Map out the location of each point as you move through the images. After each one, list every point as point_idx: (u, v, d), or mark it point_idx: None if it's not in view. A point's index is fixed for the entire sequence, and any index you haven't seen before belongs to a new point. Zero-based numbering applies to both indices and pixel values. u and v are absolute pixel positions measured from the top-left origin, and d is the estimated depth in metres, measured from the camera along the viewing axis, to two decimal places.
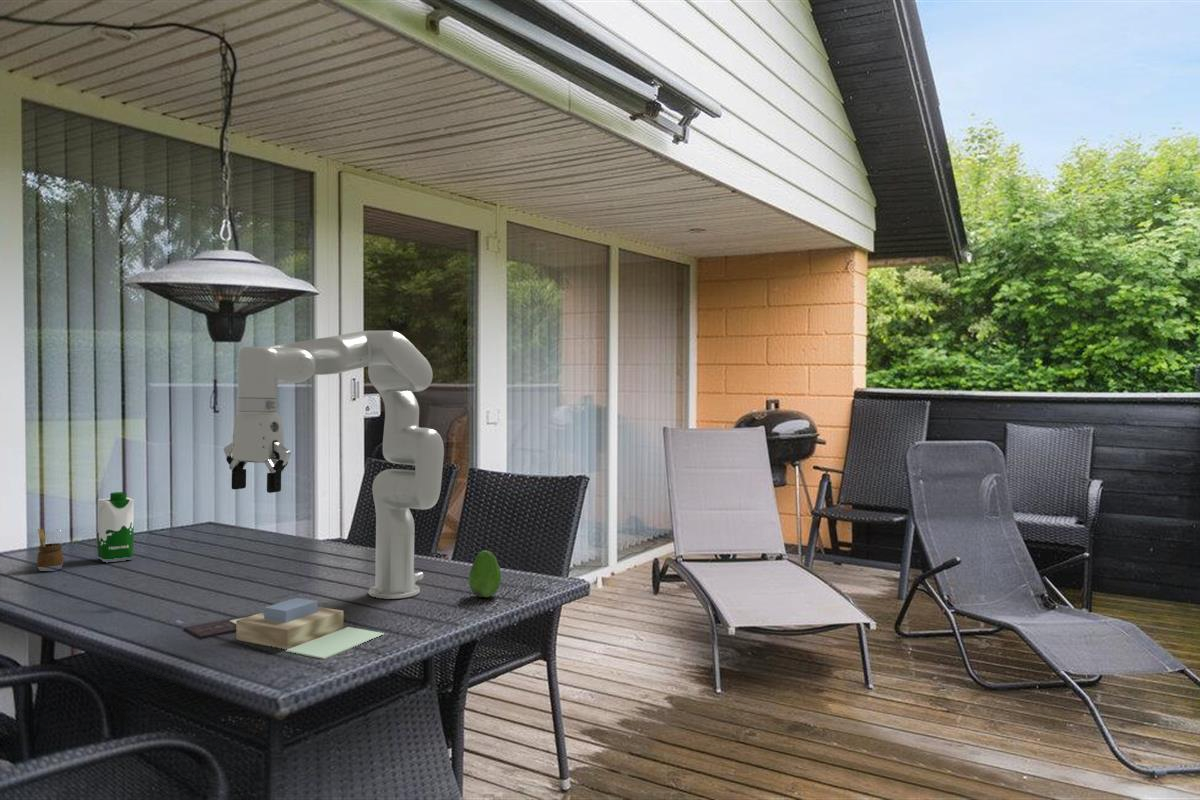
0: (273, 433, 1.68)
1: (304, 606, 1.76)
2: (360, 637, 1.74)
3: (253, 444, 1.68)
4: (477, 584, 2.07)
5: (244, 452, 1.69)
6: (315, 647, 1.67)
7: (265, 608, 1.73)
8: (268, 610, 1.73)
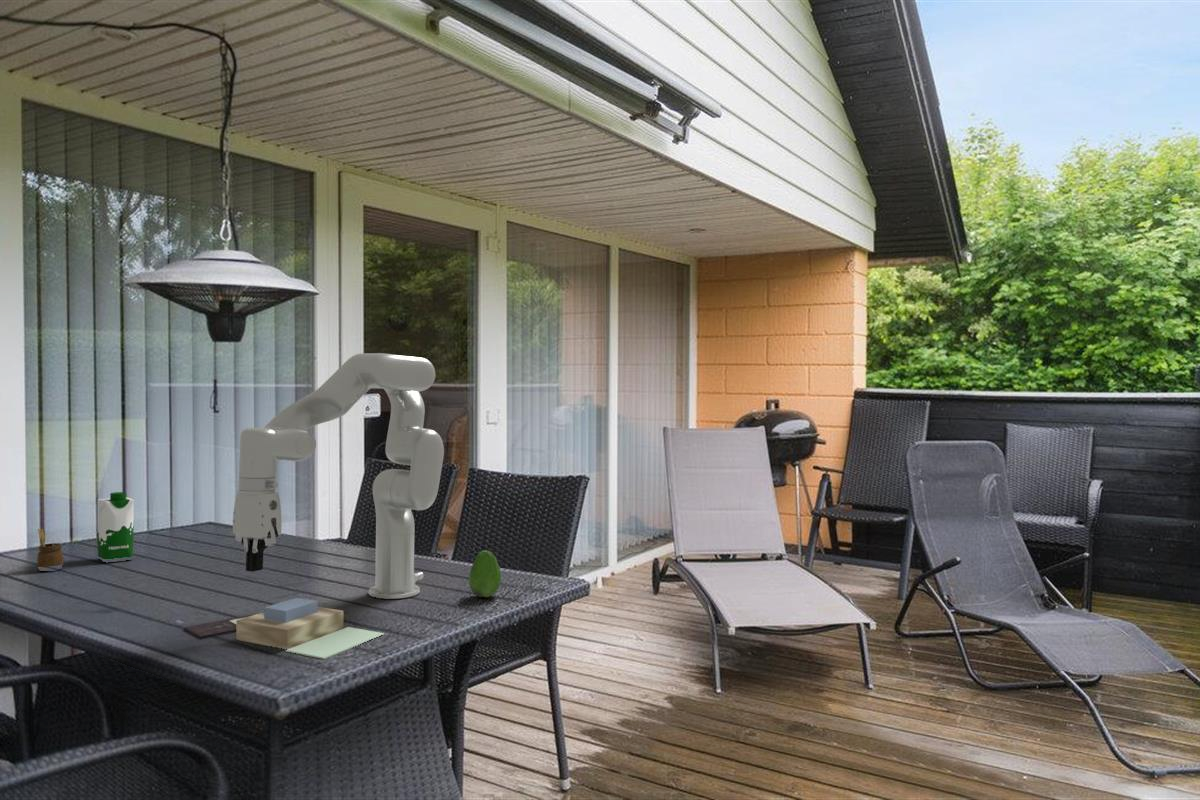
0: (272, 511, 1.77)
1: (304, 606, 1.76)
2: (360, 637, 1.74)
3: (252, 521, 1.77)
4: (477, 584, 2.07)
5: (244, 529, 1.78)
6: (315, 647, 1.67)
7: (265, 608, 1.73)
8: (268, 610, 1.73)
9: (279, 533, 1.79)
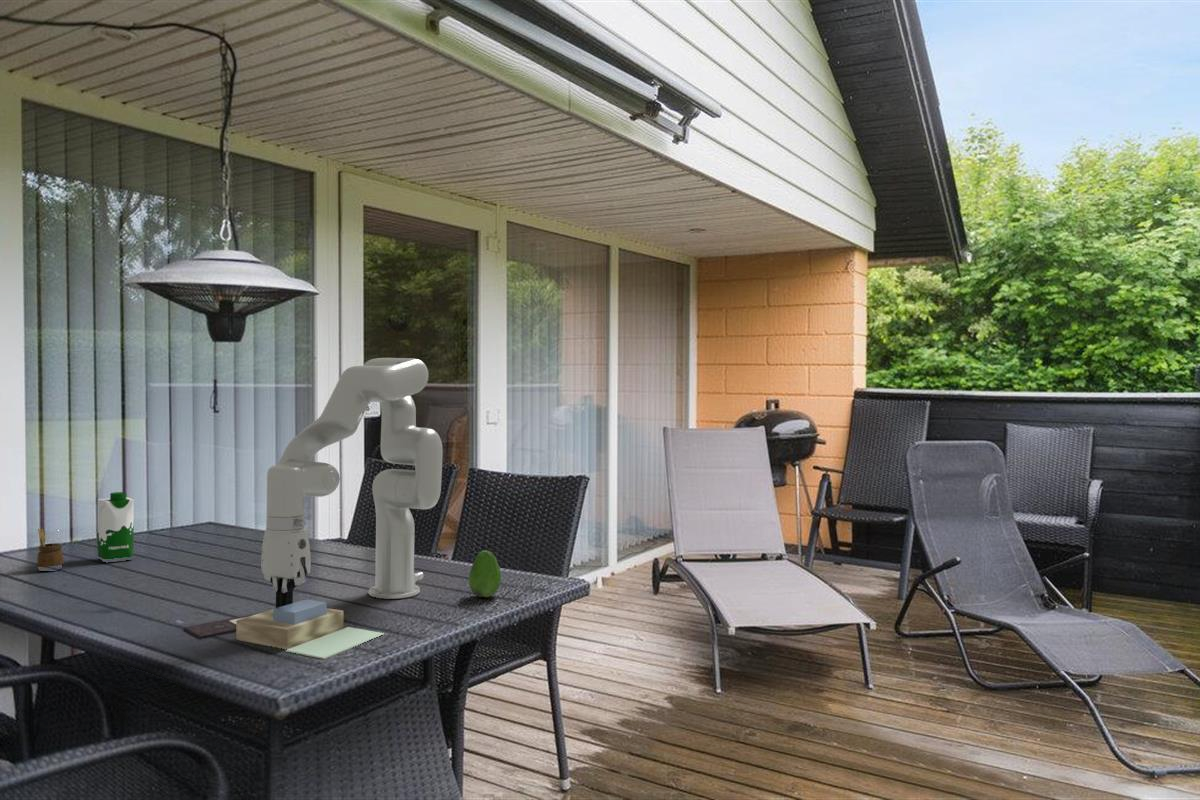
0: (301, 550, 1.74)
1: (313, 608, 1.74)
2: (360, 637, 1.74)
3: (281, 561, 1.74)
4: (477, 584, 2.07)
5: (273, 568, 1.75)
6: (315, 647, 1.67)
7: (274, 610, 1.72)
8: (277, 612, 1.72)
9: (308, 572, 1.76)
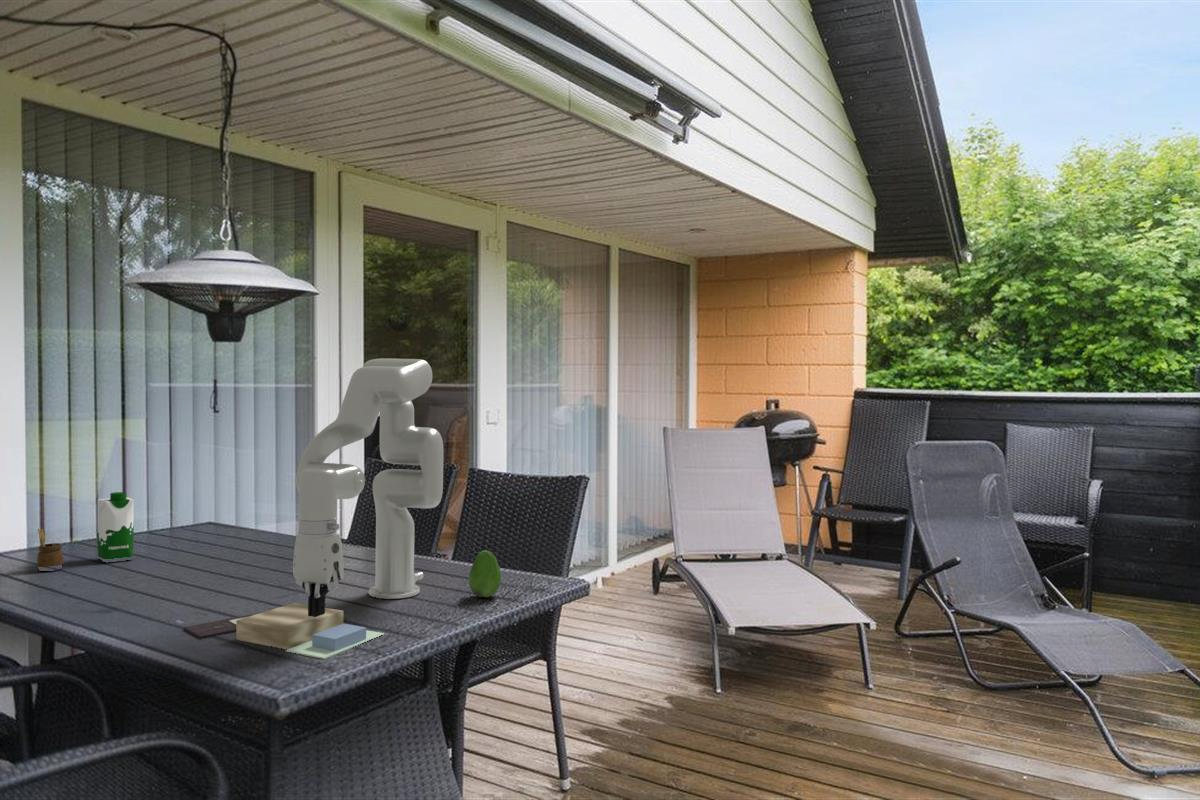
0: (334, 555, 1.71)
1: None
2: None
3: (314, 565, 1.70)
4: (477, 584, 2.07)
5: (305, 573, 1.72)
6: (315, 647, 1.67)
7: (333, 649, 1.65)
8: (330, 647, 1.65)
9: (341, 576, 1.73)
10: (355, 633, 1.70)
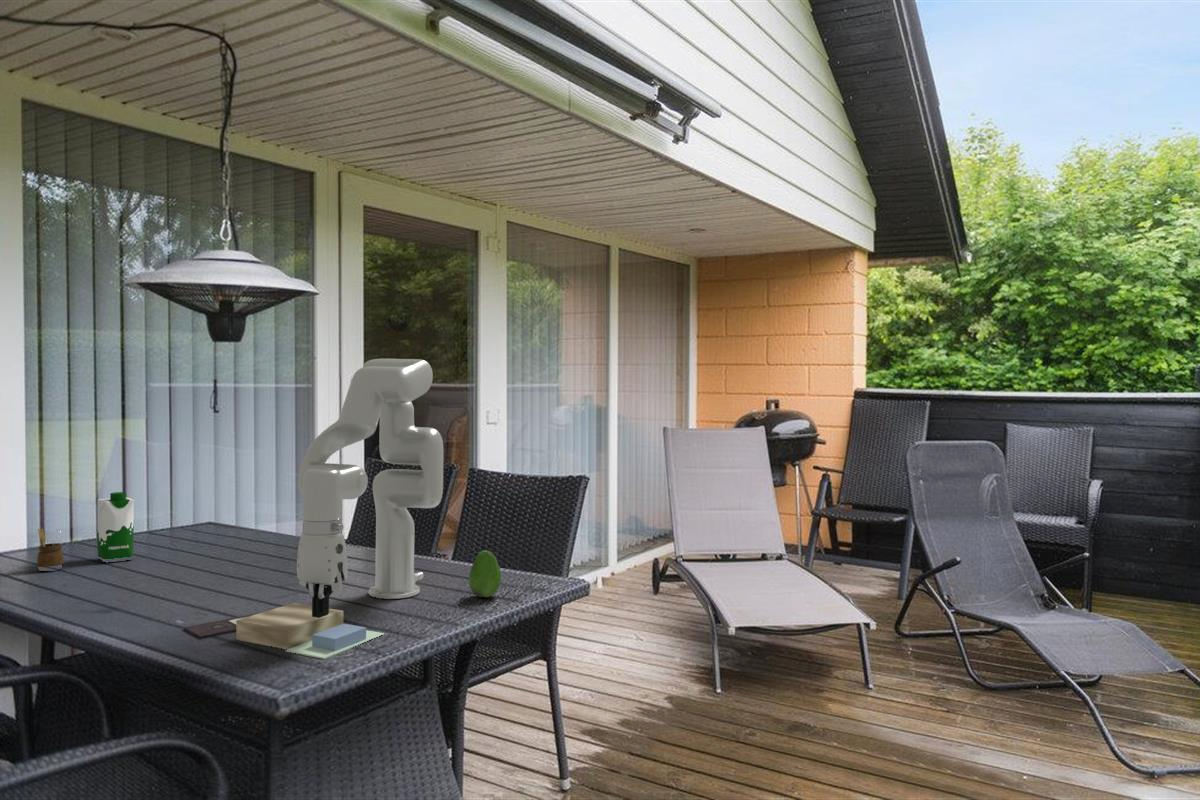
0: (338, 555, 1.70)
1: None
2: None
3: (318, 566, 1.70)
4: (477, 584, 2.07)
5: (309, 573, 1.71)
6: (315, 647, 1.67)
7: (333, 649, 1.65)
8: (330, 647, 1.65)
9: (345, 577, 1.72)
10: (355, 633, 1.70)
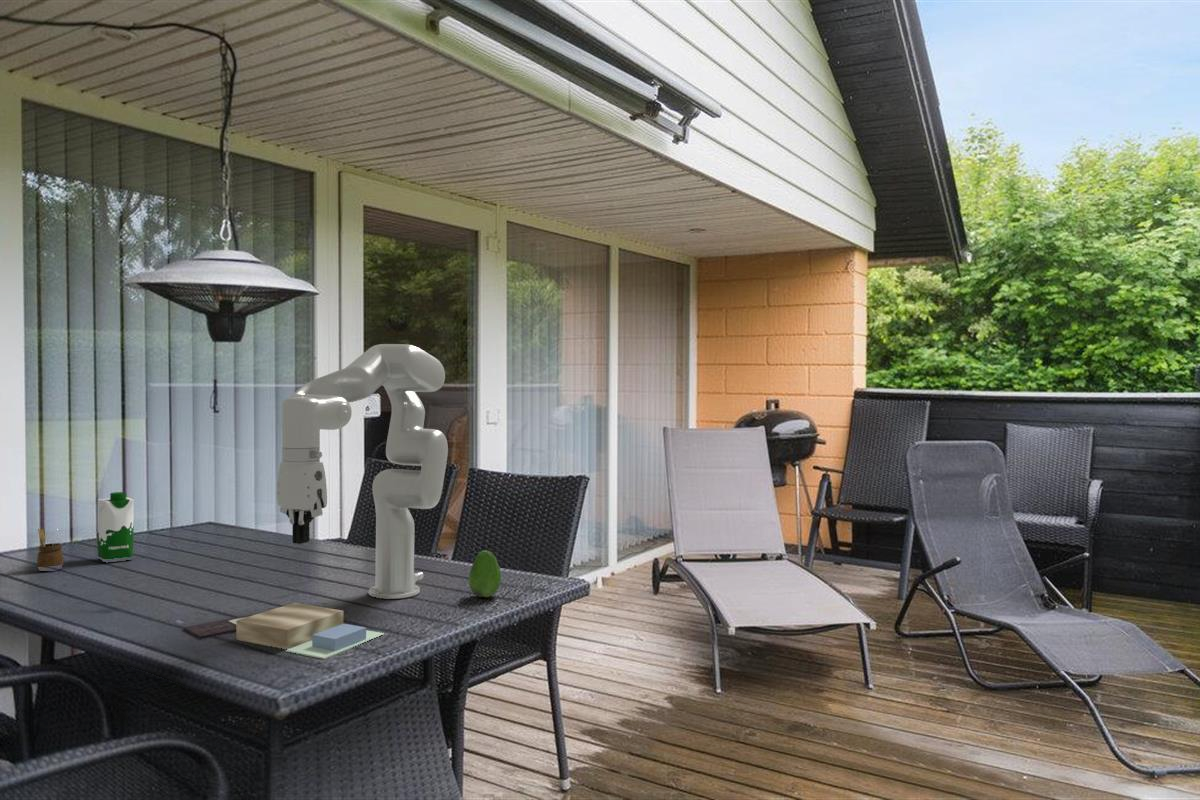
0: (317, 482, 1.73)
1: None
2: None
3: (298, 493, 1.72)
4: (477, 584, 2.07)
5: (289, 500, 1.74)
6: (315, 647, 1.67)
7: (333, 649, 1.65)
8: (330, 647, 1.65)
9: (325, 504, 1.75)
10: (355, 633, 1.70)
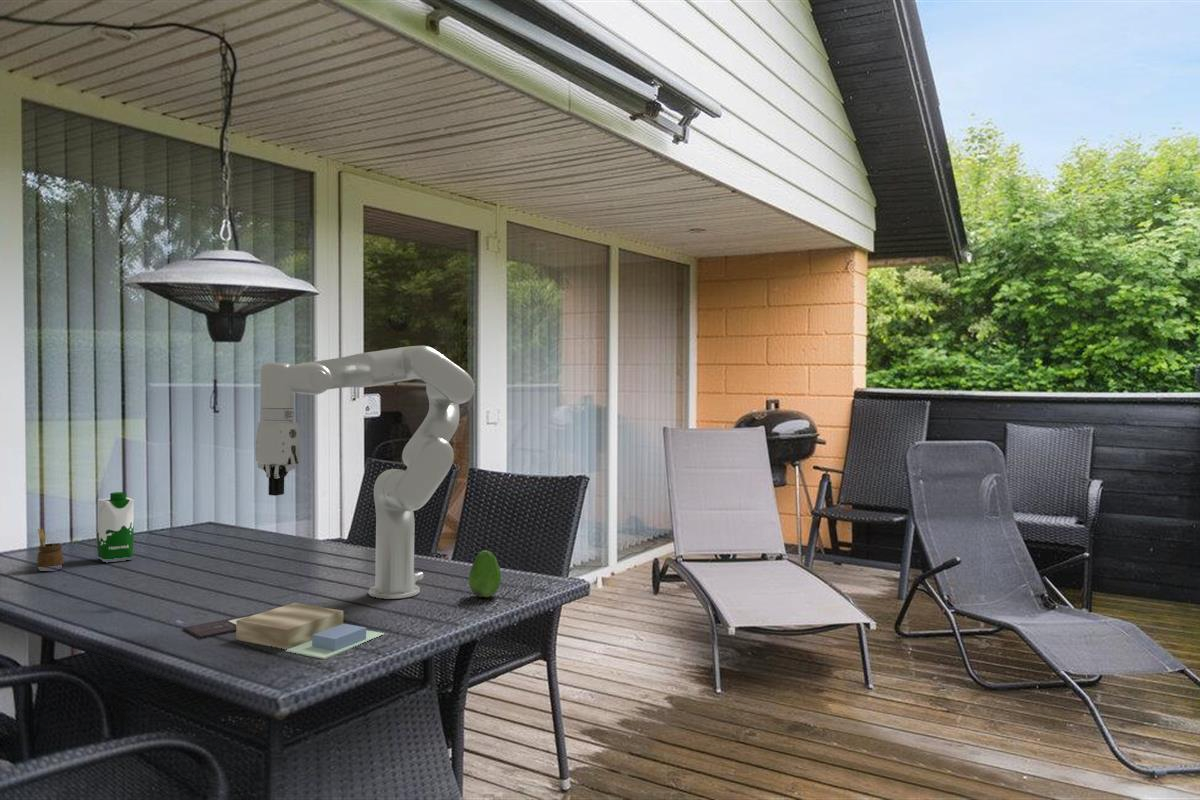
0: (291, 439, 1.91)
1: None
2: None
3: (274, 448, 1.91)
4: (477, 584, 2.07)
5: (266, 456, 1.92)
6: (315, 647, 1.67)
7: (333, 649, 1.65)
8: (330, 647, 1.65)
9: (298, 460, 1.93)
10: (355, 633, 1.70)
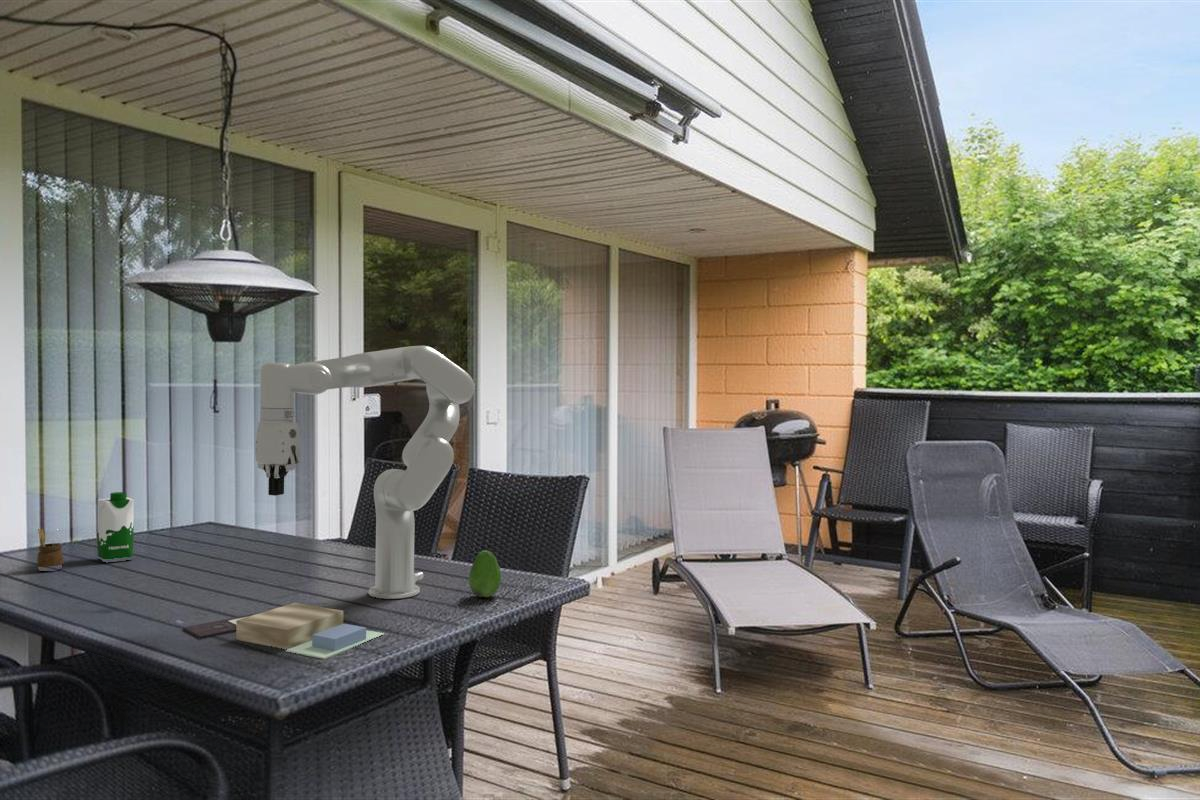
0: (291, 439, 1.91)
1: None
2: None
3: (273, 448, 1.91)
4: (477, 584, 2.07)
5: (266, 456, 1.92)
6: (315, 647, 1.67)
7: (333, 649, 1.65)
8: (330, 647, 1.65)
9: (298, 460, 1.93)
10: (355, 633, 1.70)
